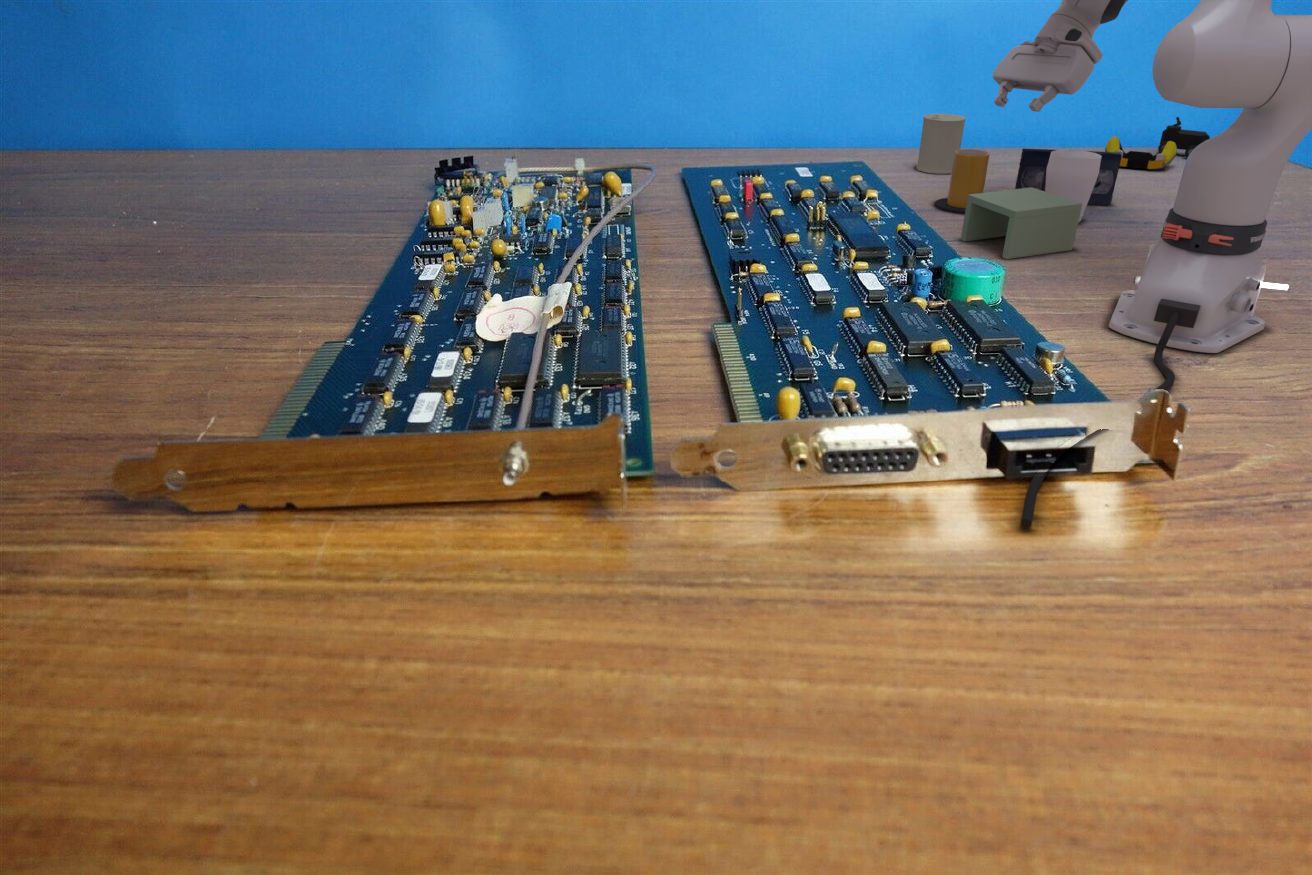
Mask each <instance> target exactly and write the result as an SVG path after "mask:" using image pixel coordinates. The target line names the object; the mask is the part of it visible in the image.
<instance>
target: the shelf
mask: <svg viewBox="0 0 1312 875" xmlns="http://www.w3.org/2000/svg"><path fill="white" fill-rule="evenodd" d="M1081 208H1082V203H1079V202H1076V201H1073V200H1070V199H1067V198H1064V197H1060V196H1057V195H1054V194H1051V193H1048V192H1045V191H1042V190H1039V189H1035V188H1032V187H1031V188H1022V189H1015V188H1013V189H1005V190H1004V189H1003V190H995V191H988V192H983V193H977V194H968V198H967V204H966V210H965V214H964V216H963V217H964V218H963V224H962V229H961V236H960V240H961V241H963V242H971V241H979V240H986V239H987V240H988V239H995V238H1001V237H1002V238H1003V237H1005V240H1004V246H1003V250H1002V251H1003V252H1002V256H1001V257H1002V258H1003V259H1004V260H1010V259H1012V260H1013V259H1018V258H1019V259H1020V258H1026V257H1031V256H1039V255H1047V254H1054V253H1059V252H1067V251H1073V247H1074V244H1075V238H1076V234H1077V230H1078V225H1079V222H1078V221H1079V217H1080V212H1081Z"/></svg>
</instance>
